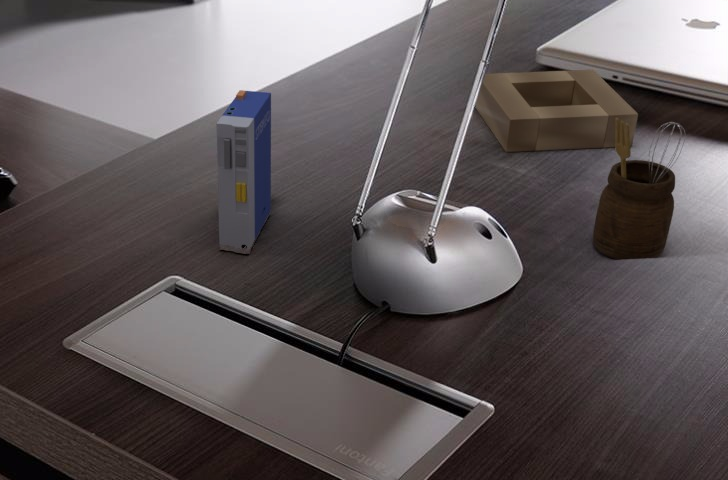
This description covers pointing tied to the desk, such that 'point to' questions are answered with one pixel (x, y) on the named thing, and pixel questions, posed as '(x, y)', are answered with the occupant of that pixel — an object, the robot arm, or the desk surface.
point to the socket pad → (552, 110)
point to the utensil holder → (635, 204)
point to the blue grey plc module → (244, 168)
